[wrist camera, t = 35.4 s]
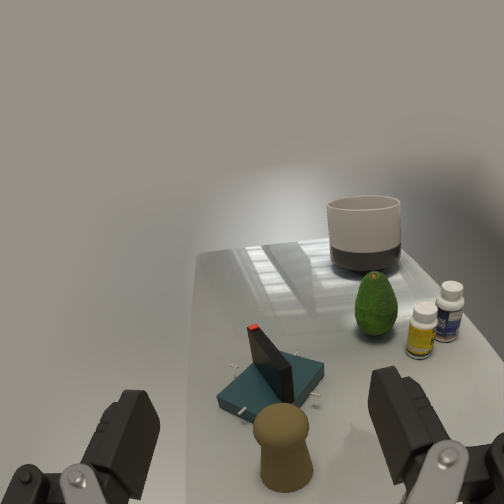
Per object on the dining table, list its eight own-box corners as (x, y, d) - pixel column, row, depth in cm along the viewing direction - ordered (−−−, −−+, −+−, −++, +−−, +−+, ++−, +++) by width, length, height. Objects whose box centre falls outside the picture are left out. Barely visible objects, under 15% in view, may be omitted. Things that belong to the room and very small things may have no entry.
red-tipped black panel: (295, 401, 36) (291, 363, 34) (283, 406, 35) (279, 368, 33) (262, 358, 46) (256, 322, 44) (252, 361, 45) (246, 326, 43)
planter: (395, 253, 84) (394, 194, 78) (405, 281, 67) (406, 208, 61) (333, 255, 90) (328, 197, 85) (328, 282, 73) (323, 211, 67)
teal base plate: (291, 447, 31) (289, 435, 30) (201, 404, 40) (197, 392, 39) (342, 374, 42) (343, 361, 41) (261, 351, 51) (259, 339, 51)
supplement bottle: (431, 360, 40) (440, 316, 37) (404, 359, 42) (411, 315, 39) (431, 343, 44) (439, 300, 41) (406, 341, 46) (411, 299, 43)
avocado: (347, 327, 54) (347, 268, 50) (383, 317, 55) (386, 260, 51) (364, 350, 46) (367, 287, 43) (403, 338, 47) (410, 276, 43)
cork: (283, 444, 32) (275, 385, 28) (323, 465, 28) (326, 408, 24) (249, 475, 28) (232, 421, 24) (290, 501, 24) (284, 453, 20)
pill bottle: (425, 329, 48) (432, 281, 45) (448, 323, 47) (456, 276, 44) (438, 345, 43) (447, 295, 40) (462, 338, 42) (472, 289, 39)
